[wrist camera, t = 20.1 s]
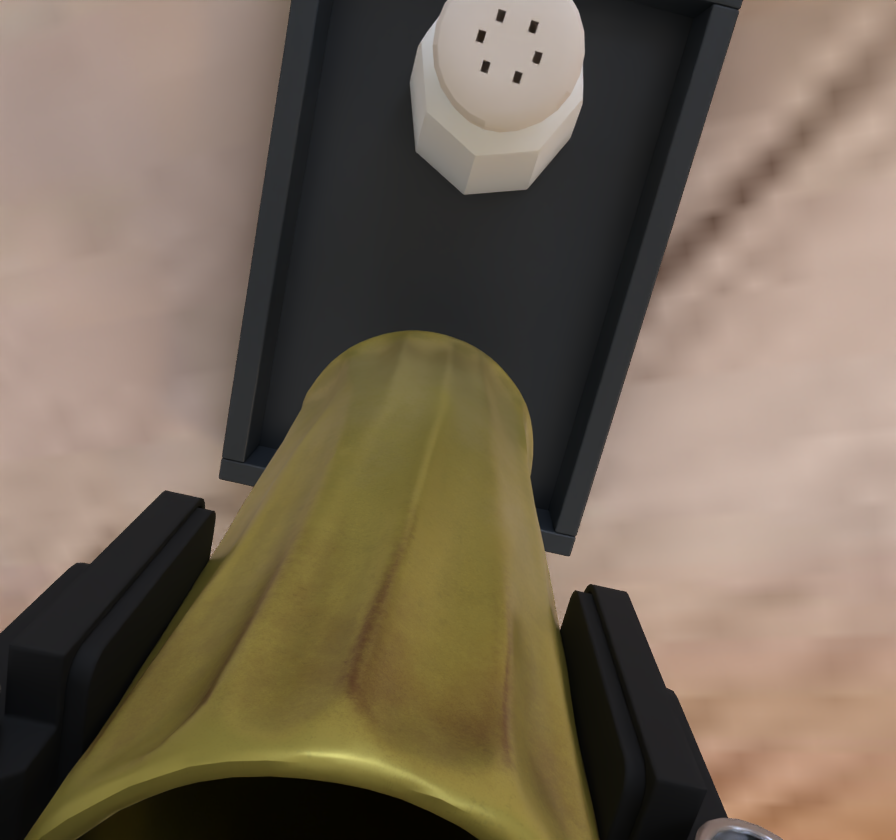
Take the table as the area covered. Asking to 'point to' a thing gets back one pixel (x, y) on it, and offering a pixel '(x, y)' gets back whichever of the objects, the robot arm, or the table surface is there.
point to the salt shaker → (497, 90)
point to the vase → (359, 636)
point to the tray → (470, 227)
